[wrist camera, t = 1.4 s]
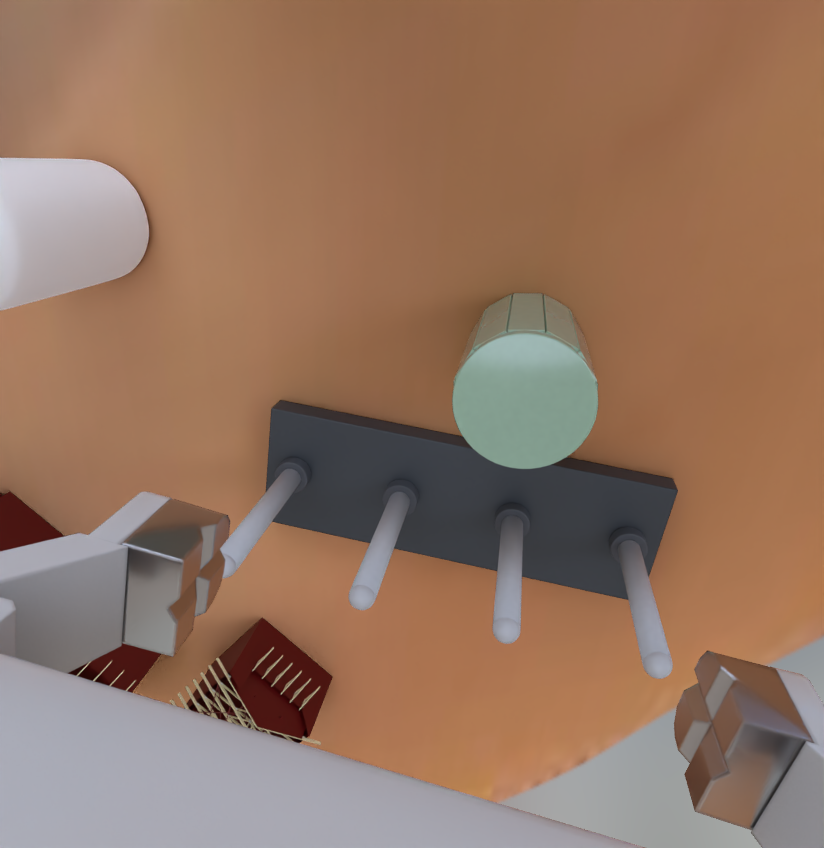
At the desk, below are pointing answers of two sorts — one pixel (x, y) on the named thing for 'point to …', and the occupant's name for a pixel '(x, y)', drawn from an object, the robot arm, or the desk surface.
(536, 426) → the cup
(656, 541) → the dish rack
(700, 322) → the desk surface
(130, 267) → the can
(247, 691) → the toy houses
